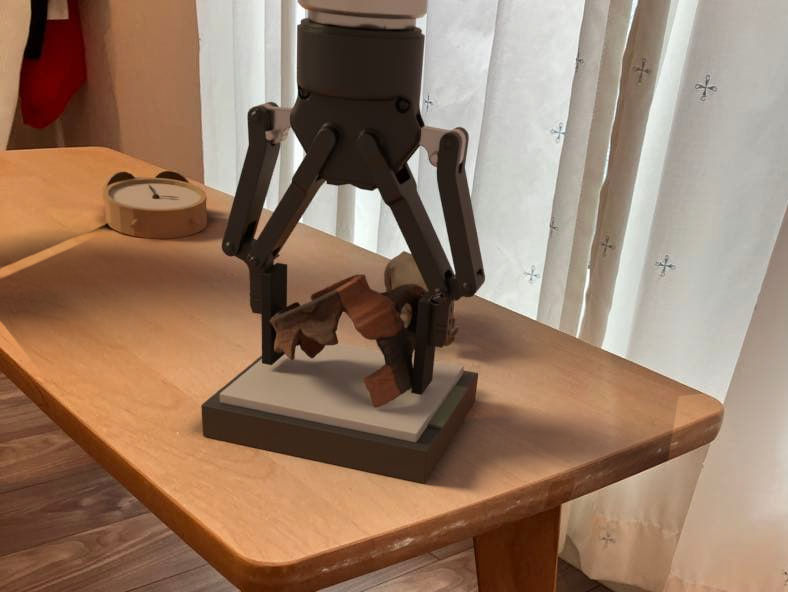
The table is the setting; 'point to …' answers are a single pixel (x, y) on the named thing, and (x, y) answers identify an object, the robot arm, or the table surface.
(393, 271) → the rhino figurine
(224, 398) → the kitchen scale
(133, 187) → the alarm clock
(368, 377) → the brown jagged curved piece
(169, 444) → the table surface
